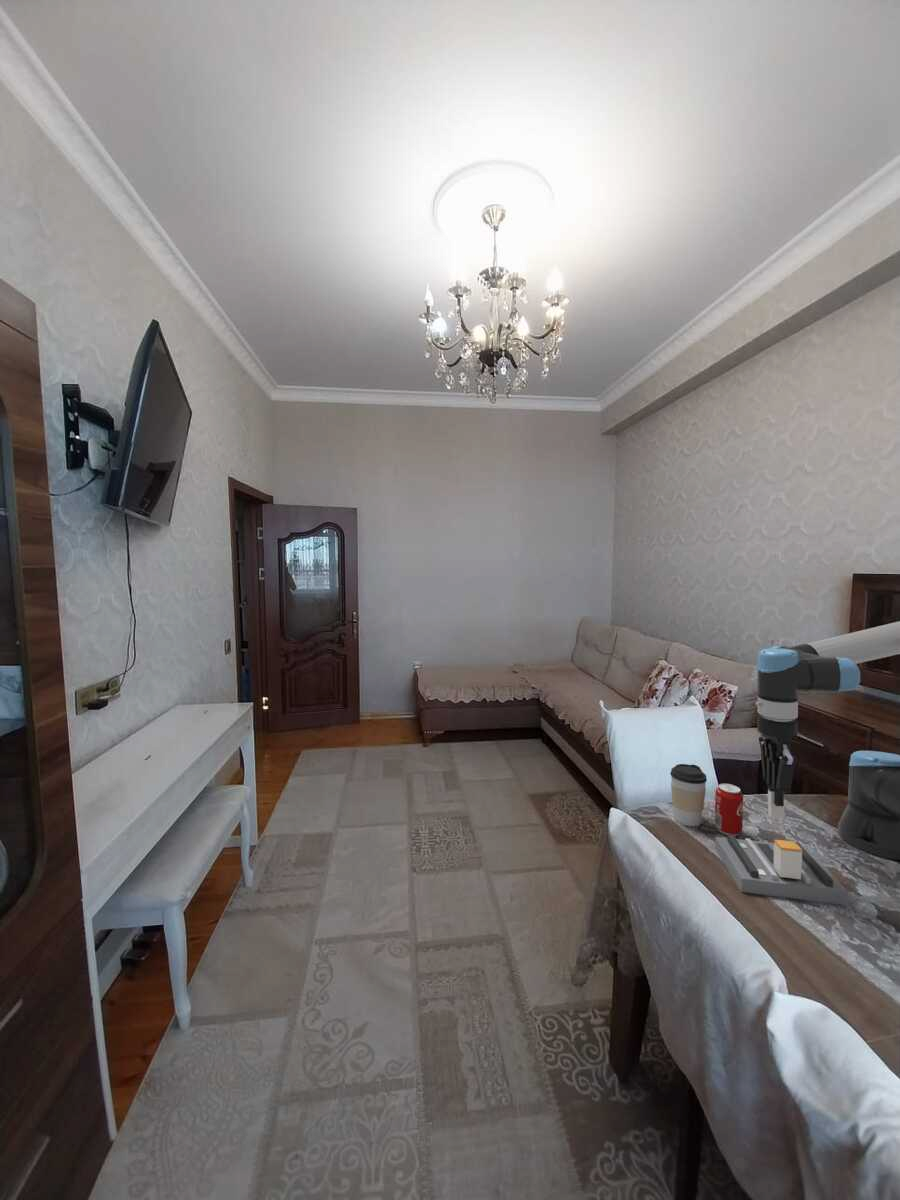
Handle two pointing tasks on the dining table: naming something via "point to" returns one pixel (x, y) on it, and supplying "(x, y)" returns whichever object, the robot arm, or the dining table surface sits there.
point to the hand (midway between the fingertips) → (775, 816)
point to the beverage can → (728, 809)
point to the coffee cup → (688, 793)
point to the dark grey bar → (816, 868)
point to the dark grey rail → (743, 856)
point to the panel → (770, 880)
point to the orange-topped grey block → (787, 859)
